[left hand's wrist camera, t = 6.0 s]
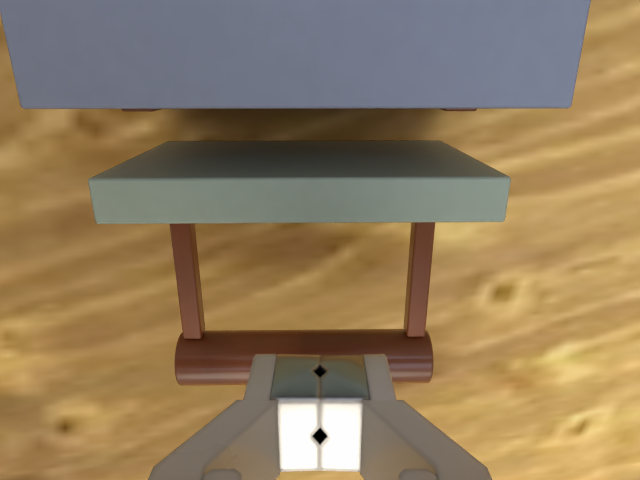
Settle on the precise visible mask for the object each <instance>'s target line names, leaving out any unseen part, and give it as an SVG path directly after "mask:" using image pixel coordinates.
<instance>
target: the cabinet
mask: <svg viewBox="0 0 640 480" xmlns="http://www.w3.org/2000/svg"><path fill="white" fill-rule="evenodd" d="M590 1H591V0H0V13H1V18H2V23H3V27H4V32H5V36H6V41H7V45H8V50H9V55H10V59H11V64H12V68H13V73H14V77H15V82H16V87H17V91H18V96H19V100H20V105H21V107H22V108H24V109H406V108H569V107H571V104H572V99H573V94H574V88H575V83H576V77H577V72H578V66H579V61H580V55H581V50H582V45H583V39H584V34H585V28H586V23H587V17H588V12H589V7H590Z"/></svg>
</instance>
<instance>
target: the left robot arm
mask: <svg viewBox="0 0 640 480" xmlns="http://www.w3.org/2000/svg"><path fill="white" fill-rule="evenodd" d="M286 471H354V472H360V474H361V476H362V477H363V478H364V480H492V478H491V476H490V473H489V471H488V469H487V467H486V466H484V465H483V464H482V463H481V462H479V461H478V460H477V459H476V458H474V457H473V456H472V455H471V454H469V453H468V452H467V451H466V450H464V449H463V448H462V447H461V446H459V445H458V444H457V443H456V442H454V441H453V440H452V439H451V438H449V437H448V436H447V435H446V434H445V433H443V432H442V431H441V430H440V429H438V428H437V427H436V426H435V425H433V424H432V423H431V422H430V421H428V420H427V419H426V418H425V417H423V416H422V415H421V414H420V413H418V412H417V411H416V410H415V409H413V408H412V407H411V406H410V405H408V404H407V403H406V402H405V401H403V400H397V399H396V395H395V391H394V387H393V382H392V378H391V374H390V370H389V366H388V362H387V357H386V355H385V354H365V355H332V356H320V355H290V354H278V355H276V354H256V355H255V356H254V357H253V361H252V365H251V370H250V374H249V378H248V382H247V386H246V391H245V395H244V399H243V400H237V401H235V402H234V403H233V404H232V405H230V406H229V407H228V408H227V409H225V410H224V411H223V412H222V413H220V414H219V415H218V416H217V417H215V418H214V419H213V420H212V421H210V422H209V423H208V424H207V425H205V426H204V427H203V428H202V429H200V430H199V431H198V432H197V433H195V434H194V435H193V436H192V437H190V438H189V439H188V440H187V441H185V442H184V443H183V444H182V445H180V446H179V447H178V448H177V449H175V450H174V451H173V452H172V453H170V454H169V455H168V456H167V457H165V458H164V459H163V460H162V461H160V462H159V463H158V464H157V465H155V466H154V467H153V469H152V472H151V474H150V476H149V479H148V480H276V479H277V477H278V476H279V475H280V472H286Z"/></svg>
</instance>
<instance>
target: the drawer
mask: <svg viewBox="0 0 640 480" xmlns="http://www.w3.org/2000/svg"><path fill="white" fill-rule="evenodd" d="M437 109H441V110H445V111H476V110H477V108H437ZM156 110H161V109H122V111H156ZM510 181H511V179H510V177H509V176H507V175H505V174H503V173H501V172H499V171H497V170H495V169H493V168H491V167H490V166H488V165H486V164H484V163H482V162H480V161H478V160H476V159H474V158H472V157H470V156H469V155H467V154H465V153H463V152H461V151H459V150H457V149H455V148H453V147H451V146H450V145H448V144H446V143H444V142H442V141H168V142H166V143H163V144H161V145H159V146H157V147H155V148H153V149H151V150H149V151H146V152H144V153H142V154H140V155H138V156H136V157H134V158H132V159H130V160H127V161H125V162H123V163H121V164H119V165H117V166H115V167H113V168H111V169H108V170H106V171H104V172H102V173H100V174H98V175H96V176H94V177H91V178H89V180H88V183H89V189H90V194H91V200H92V205H93V211H94V216H95V222H96V223H98V224H170V230H171V238H172V247H173V255H174V263H175V272H176V280H177V288H178V296H179V305H180V313H181V321H182V330H183V332H182V333H181V335H180V337H179V339H178V342H177V346H176V352H175V375H176V379H177V382H178V384H179V385H182V386H186V385H247V382H248V378H249V374H250V370H251V365H252V361H253V357H254V356H255V355H256V354H276V355H278V354H290V355H320V356H332V355H365V354H385V355H386V357H387V362H388V366H389V370H390V374H391V378H392V382H393V383H428V382H430V380H431V378H432V374H433V350H432V343H431V339H430V336H429V334H428V332H427V330H425V327H426V316H427V305H428V295H429V284H430V273H431V262H432V251H433V240H434V230H435V222H503V221H504V220H505V215H506V208H507V202H508V195H509V188H510ZM379 222H411V235H410V249H409V262H408V276H407V290H406V303H405V317H404V329H351V330H238V331H205V323H204V313H203V303H202V293H201V283H200V273H199V263H198V253H197V243H196V233H195V223H379Z"/></svg>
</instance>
